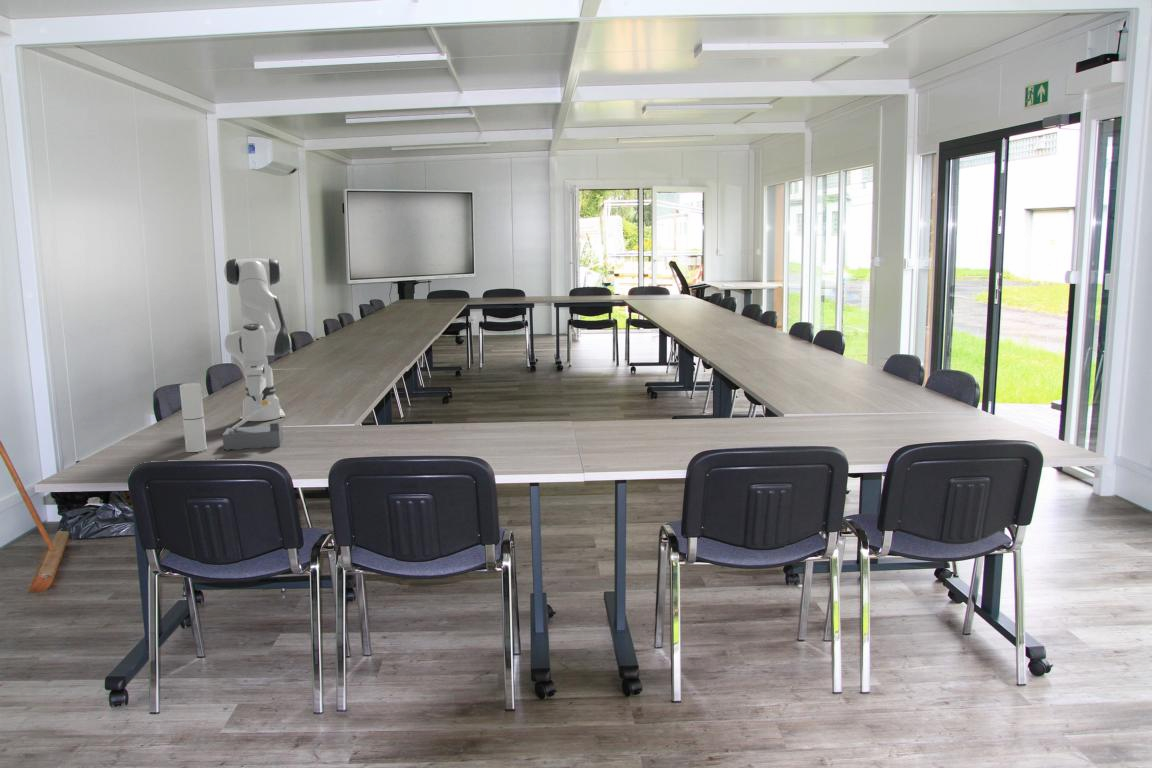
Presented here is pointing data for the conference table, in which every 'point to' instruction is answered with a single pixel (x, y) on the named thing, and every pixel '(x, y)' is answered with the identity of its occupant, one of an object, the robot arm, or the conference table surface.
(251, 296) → the robot arm
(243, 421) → the lever
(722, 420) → the conference table surface
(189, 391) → the cylindrical container
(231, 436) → the clamp block
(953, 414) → the conference table surface
